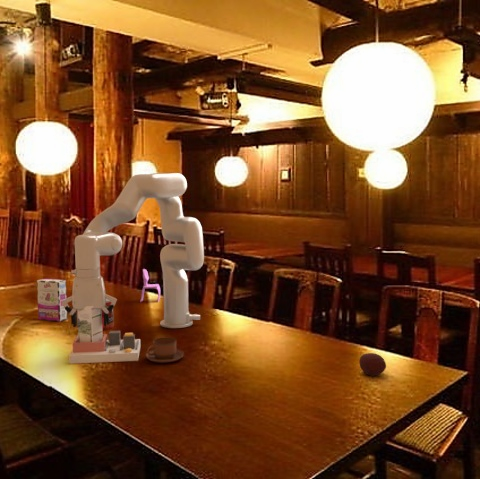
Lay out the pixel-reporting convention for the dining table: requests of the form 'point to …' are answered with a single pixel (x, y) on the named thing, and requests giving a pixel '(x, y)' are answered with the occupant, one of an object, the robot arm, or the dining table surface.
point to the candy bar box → (51, 299)
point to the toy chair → (149, 285)
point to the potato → (372, 364)
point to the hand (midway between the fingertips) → (90, 325)
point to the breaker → (114, 338)
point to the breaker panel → (102, 352)
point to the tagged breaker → (129, 340)
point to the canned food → (111, 317)
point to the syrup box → (90, 324)
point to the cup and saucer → (164, 350)
